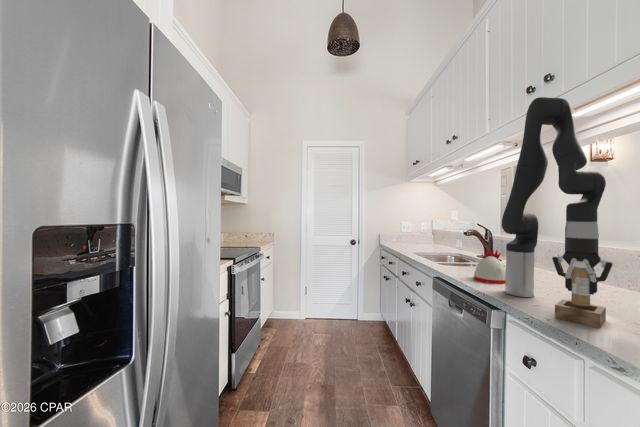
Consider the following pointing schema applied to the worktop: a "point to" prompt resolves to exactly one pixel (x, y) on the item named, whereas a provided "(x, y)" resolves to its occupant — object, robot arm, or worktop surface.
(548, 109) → the robot arm
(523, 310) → the worktop surface
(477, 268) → the white rounded dome
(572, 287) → the sprinkles bottle
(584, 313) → the walnut holder
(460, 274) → the worktop surface
